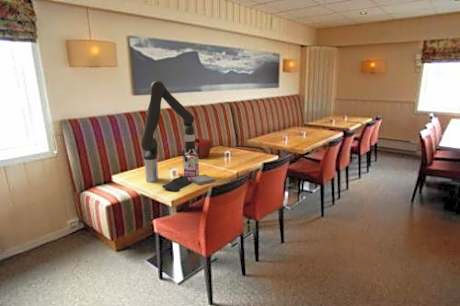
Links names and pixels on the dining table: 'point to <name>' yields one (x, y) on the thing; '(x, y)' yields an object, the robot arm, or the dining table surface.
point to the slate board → (201, 179)
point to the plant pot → (202, 148)
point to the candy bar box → (191, 166)
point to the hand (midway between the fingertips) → (190, 160)
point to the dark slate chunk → (177, 183)
